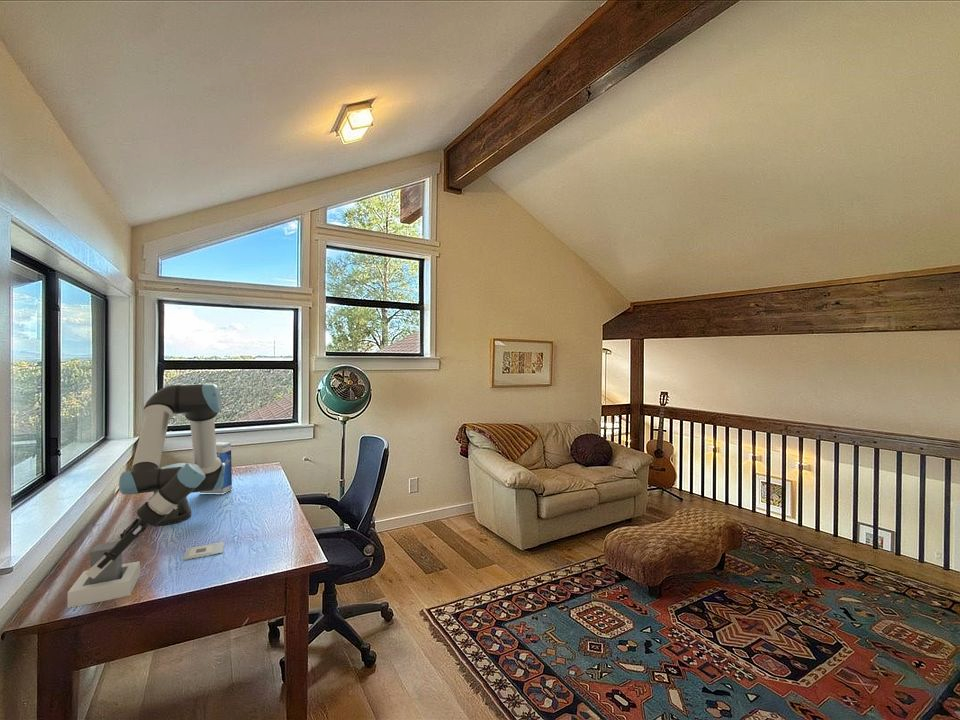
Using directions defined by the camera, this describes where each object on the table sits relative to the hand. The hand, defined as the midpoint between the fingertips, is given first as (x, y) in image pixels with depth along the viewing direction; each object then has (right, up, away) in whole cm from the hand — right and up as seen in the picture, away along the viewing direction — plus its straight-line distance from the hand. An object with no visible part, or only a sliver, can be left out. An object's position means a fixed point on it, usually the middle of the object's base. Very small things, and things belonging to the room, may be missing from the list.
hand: (96, 565), depth 132 cm
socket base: (+2, -8, +1) cm, 8 cm away
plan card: (+15, -8, +27) cm, 32 cm away
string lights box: (-21, -7, +95) cm, 98 cm away
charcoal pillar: (+2, -6, +1) cm, 7 cm away
